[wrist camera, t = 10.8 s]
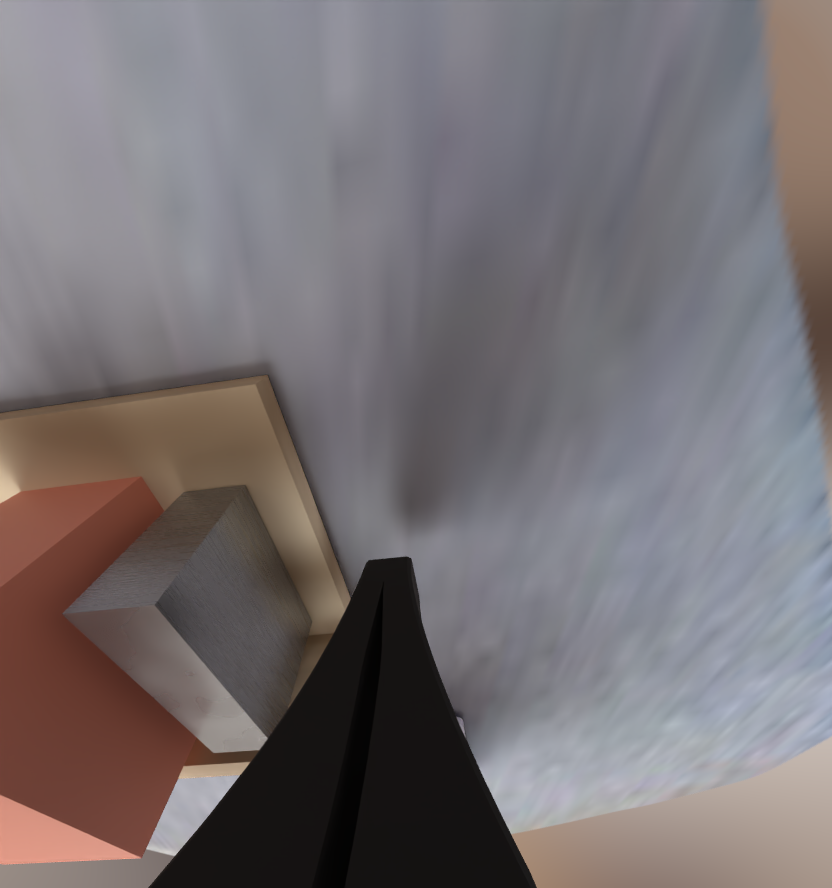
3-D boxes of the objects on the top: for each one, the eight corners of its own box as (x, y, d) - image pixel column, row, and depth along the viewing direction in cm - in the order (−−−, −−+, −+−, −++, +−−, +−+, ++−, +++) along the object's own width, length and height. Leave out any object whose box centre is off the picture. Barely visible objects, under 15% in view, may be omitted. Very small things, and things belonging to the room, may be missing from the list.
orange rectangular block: (245, 630, 14) (141, 858, 9) (156, 639, 14) (2, 864, 9) (141, 476, 10) (-168, 719, 5) (20, 491, 10) (-401, 738, 5)
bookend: (312, 621, 13) (276, 749, 10) (265, 625, 14) (213, 753, 10) (245, 484, 10) (153, 604, 6) (183, 492, 10) (62, 614, 7)
